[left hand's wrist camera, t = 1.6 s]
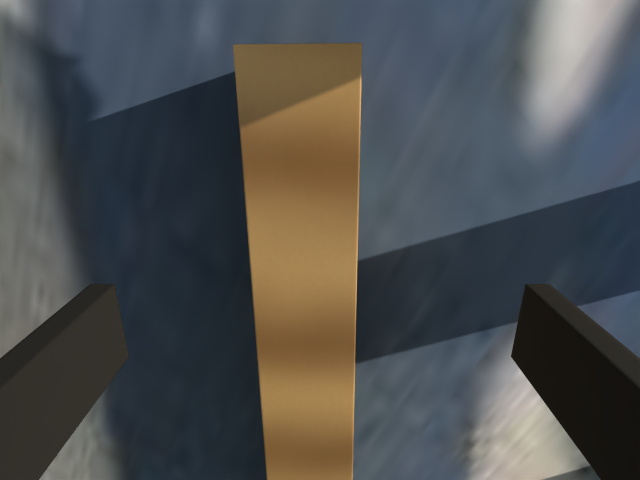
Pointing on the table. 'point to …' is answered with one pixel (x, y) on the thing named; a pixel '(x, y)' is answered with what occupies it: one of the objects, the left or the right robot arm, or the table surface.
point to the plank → (303, 246)
